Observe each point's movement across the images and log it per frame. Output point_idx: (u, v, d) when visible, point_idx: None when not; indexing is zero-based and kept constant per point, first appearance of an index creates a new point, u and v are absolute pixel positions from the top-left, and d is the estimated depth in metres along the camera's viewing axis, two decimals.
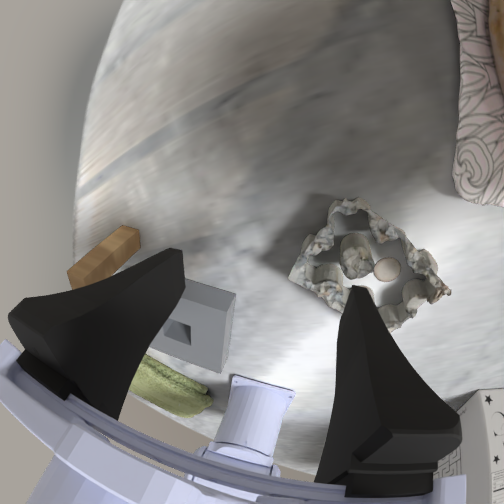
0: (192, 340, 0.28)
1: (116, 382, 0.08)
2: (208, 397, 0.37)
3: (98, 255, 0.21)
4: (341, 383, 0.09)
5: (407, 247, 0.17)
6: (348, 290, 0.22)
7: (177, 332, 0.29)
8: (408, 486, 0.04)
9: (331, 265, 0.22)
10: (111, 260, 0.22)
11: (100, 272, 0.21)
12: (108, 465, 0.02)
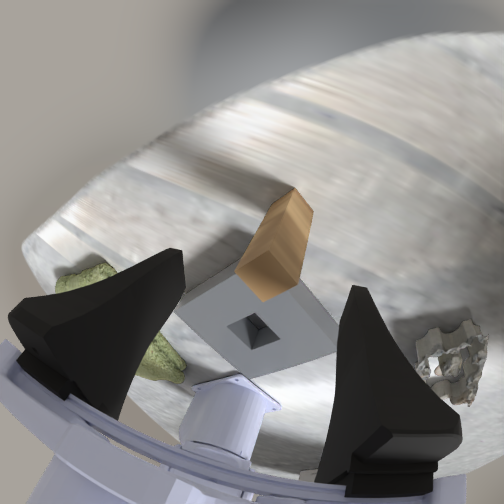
0: (261, 347, 0.23)
1: (116, 382, 0.08)
2: (183, 375, 0.32)
3: (295, 236, 0.14)
4: (341, 383, 0.09)
5: (478, 373, 0.19)
6: None
7: (239, 327, 0.24)
8: (408, 486, 0.04)
9: None
10: None
11: None
12: (108, 465, 0.02)
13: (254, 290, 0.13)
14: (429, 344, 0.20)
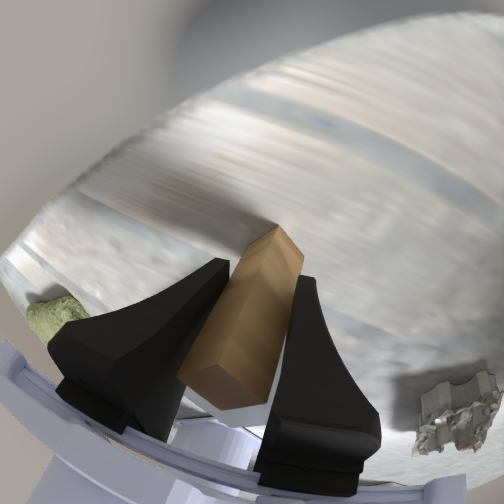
0: None
1: (168, 405, 0.08)
2: None
3: (271, 315, 0.10)
4: None
5: (488, 423, 0.14)
6: None
7: None
8: (327, 484, 0.05)
9: None
10: None
11: None
12: (108, 465, 0.02)
13: (207, 399, 0.08)
14: (436, 401, 0.15)
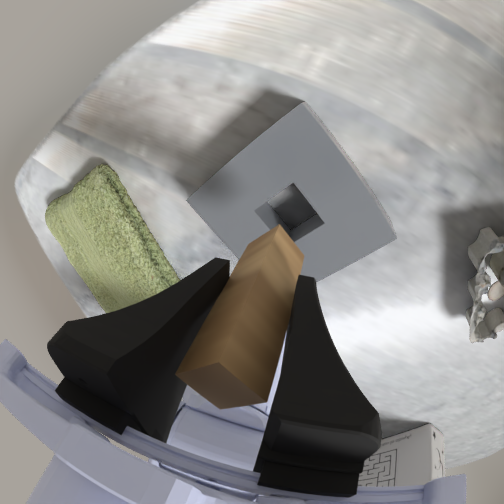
0: (298, 242, 0.19)
1: (168, 405, 0.08)
2: None
3: (271, 313, 0.10)
4: None
5: None
6: None
7: (269, 218, 0.19)
8: (326, 484, 0.05)
9: None
10: None
11: None
12: (108, 465, 0.02)
13: (206, 397, 0.08)
14: (485, 243, 0.16)
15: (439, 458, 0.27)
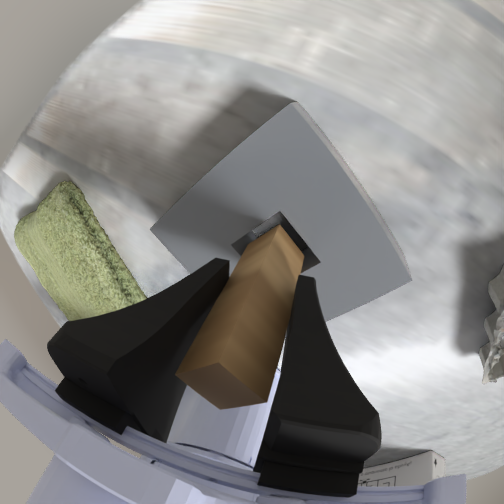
0: None
1: (168, 405, 0.08)
2: None
3: (271, 314, 0.10)
4: None
5: None
6: None
7: None
8: (327, 484, 0.05)
9: None
10: None
11: None
12: (108, 465, 0.02)
13: (206, 397, 0.08)
14: None
15: None
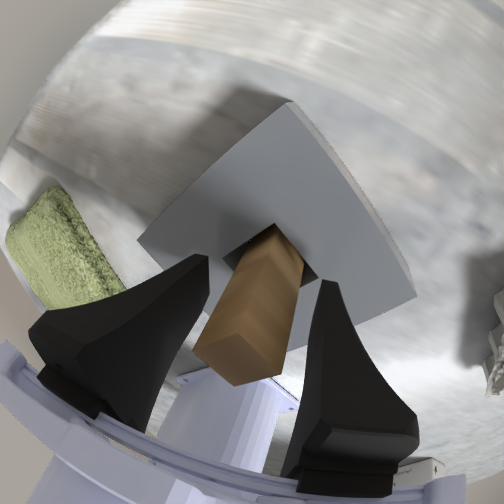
0: None
1: (144, 395, 0.08)
2: None
3: (281, 294, 0.10)
4: (307, 377, 0.09)
5: None
6: (489, 341, 0.14)
7: None
8: (364, 487, 0.04)
9: None
10: None
11: None
12: (108, 465, 0.02)
13: (221, 374, 0.09)
14: None
15: None
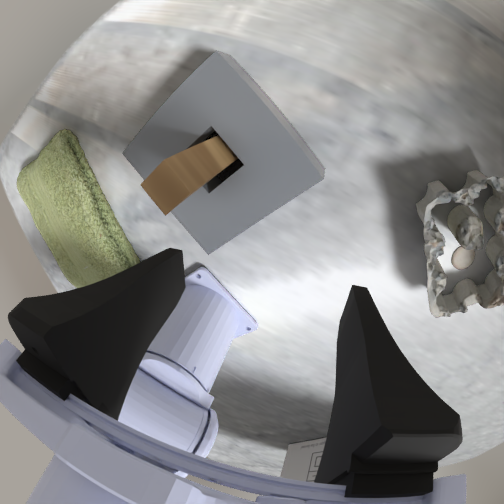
0: (220, 186, 0.18)
1: (116, 382, 0.08)
2: None
3: (205, 161, 0.15)
4: (341, 383, 0.09)
5: None
6: (425, 255, 0.19)
7: None
8: (408, 486, 0.04)
9: None
10: (212, 177, 0.16)
11: None
12: (108, 465, 0.02)
13: (157, 202, 0.13)
14: (432, 196, 0.16)
15: None
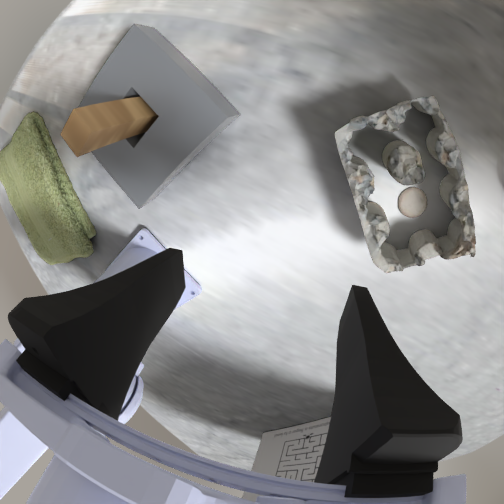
0: (142, 140, 0.18)
1: (116, 382, 0.08)
2: (90, 245, 0.27)
3: (117, 112, 0.14)
4: (341, 383, 0.09)
5: (460, 181, 0.13)
6: None
7: None
8: (408, 486, 0.04)
9: (364, 161, 0.17)
10: (126, 127, 0.15)
11: (108, 134, 0.14)
12: (108, 465, 0.02)
13: (71, 147, 0.13)
14: None
15: None
